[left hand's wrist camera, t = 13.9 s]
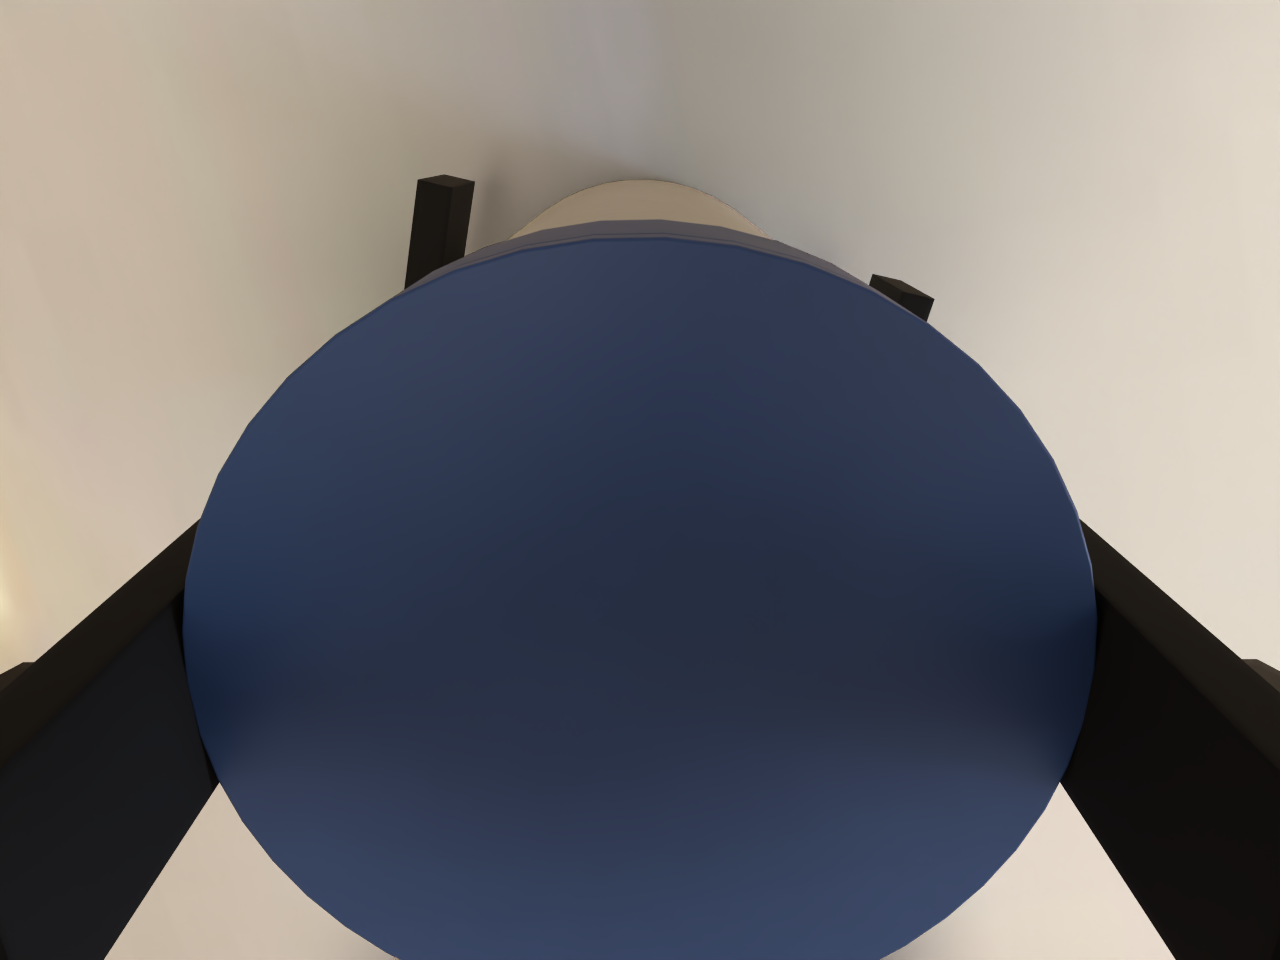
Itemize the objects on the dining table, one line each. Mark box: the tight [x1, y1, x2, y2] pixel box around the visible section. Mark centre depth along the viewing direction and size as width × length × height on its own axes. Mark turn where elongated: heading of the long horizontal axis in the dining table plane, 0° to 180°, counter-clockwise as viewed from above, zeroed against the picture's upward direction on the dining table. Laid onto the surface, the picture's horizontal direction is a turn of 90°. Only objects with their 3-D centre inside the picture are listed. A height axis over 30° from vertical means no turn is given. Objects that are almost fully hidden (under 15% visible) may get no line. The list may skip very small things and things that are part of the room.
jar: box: [506, 180, 772, 241], centre depth 19 cm, size 10×10×18 cm
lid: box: [182, 219, 1097, 960], centre depth 11 cm, size 11×11×2 cm
